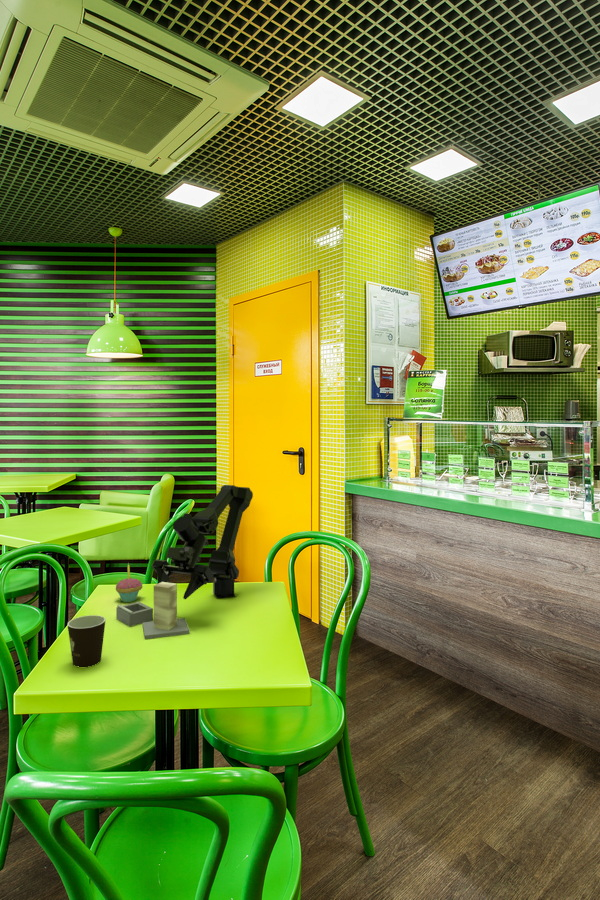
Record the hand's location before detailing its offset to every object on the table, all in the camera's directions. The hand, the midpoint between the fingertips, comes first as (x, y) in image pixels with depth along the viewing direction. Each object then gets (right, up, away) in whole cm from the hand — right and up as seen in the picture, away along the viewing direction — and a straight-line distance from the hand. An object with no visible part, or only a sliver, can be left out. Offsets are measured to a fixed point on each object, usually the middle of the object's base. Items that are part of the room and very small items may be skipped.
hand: (170, 596), depth 150 cm
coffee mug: (-15, -10, -21) cm, 28 cm away
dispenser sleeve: (-12, -8, +6) cm, 16 cm away
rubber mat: (-1, -9, -2) cm, 9 cm away
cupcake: (-20, -8, +23) cm, 31 cm away
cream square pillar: (-1, -8, -2) cm, 8 cm away
